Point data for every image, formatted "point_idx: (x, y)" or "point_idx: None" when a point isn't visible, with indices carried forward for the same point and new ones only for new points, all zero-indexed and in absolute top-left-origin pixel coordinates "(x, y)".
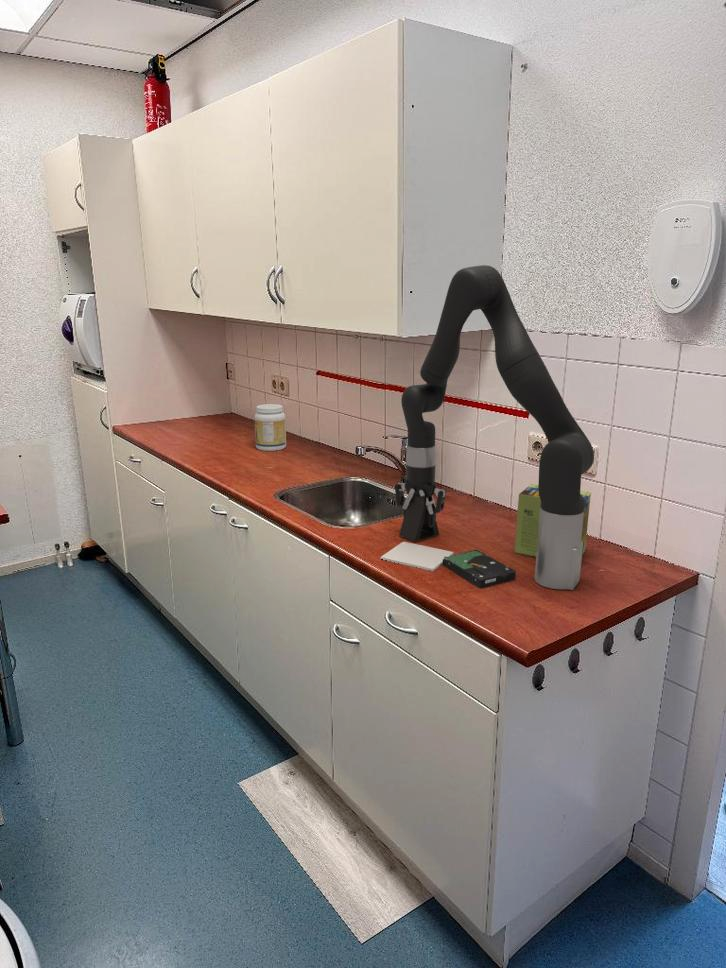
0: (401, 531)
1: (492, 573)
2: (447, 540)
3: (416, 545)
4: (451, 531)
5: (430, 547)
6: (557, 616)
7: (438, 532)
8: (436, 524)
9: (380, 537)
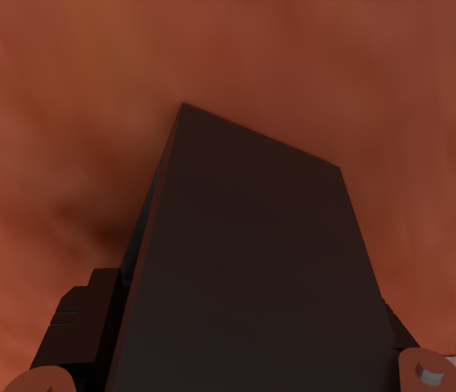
0: None
1: None
2: (401, 211)
3: None
4: (397, 28)
5: None
6: None
7: (338, 177)
8: (355, 229)
9: (9, 362)
